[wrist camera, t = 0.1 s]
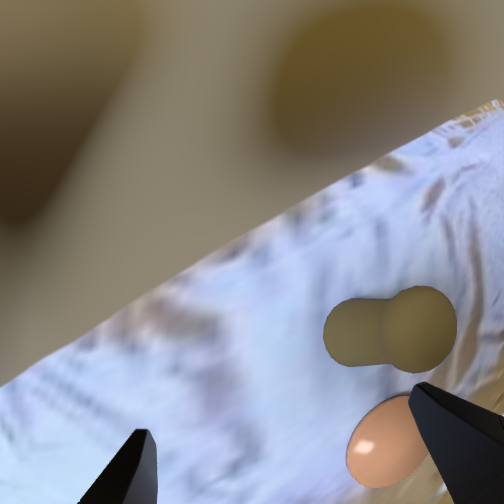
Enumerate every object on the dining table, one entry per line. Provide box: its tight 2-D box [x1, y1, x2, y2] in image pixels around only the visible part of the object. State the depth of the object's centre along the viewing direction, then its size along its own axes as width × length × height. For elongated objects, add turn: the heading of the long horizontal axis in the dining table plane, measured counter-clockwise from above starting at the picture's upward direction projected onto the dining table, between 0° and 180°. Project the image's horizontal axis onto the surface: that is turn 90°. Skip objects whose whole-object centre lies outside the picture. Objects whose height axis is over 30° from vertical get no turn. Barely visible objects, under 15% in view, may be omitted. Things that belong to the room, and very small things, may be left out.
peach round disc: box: [346, 395, 429, 488], centre depth 21 cm, size 10×10×1 cm
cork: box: [323, 286, 457, 373], centre depth 18 cm, size 6×6×11 cm
